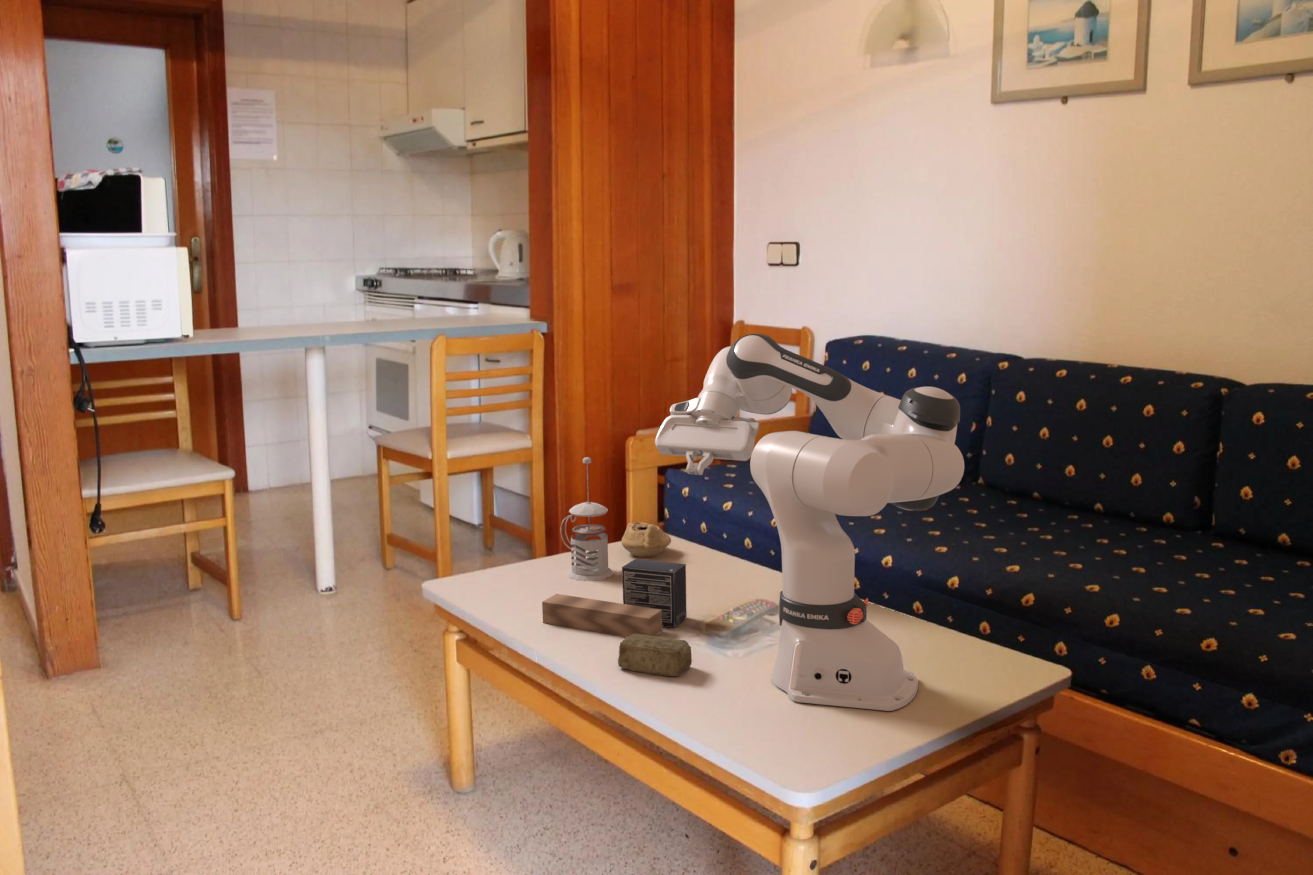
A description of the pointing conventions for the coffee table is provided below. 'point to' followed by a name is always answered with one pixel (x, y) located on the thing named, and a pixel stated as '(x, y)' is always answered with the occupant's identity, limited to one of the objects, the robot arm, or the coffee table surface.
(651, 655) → the stone block
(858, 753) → the coffee table surface
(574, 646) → the coffee table surface
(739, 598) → the coffee table surface
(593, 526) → the french press
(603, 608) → the batten
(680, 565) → the small box
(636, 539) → the oil lamp
